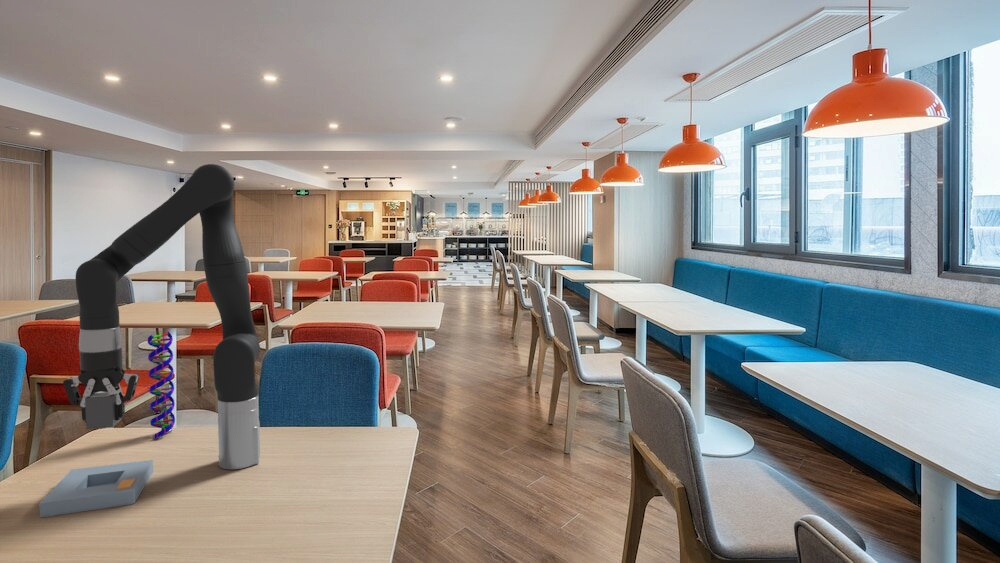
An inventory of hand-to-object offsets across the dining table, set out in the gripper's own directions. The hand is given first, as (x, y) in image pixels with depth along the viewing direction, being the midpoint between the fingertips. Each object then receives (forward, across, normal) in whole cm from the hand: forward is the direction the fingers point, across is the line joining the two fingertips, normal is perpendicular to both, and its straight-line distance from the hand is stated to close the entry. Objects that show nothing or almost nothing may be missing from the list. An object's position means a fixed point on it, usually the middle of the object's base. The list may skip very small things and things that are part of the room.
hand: (103, 420), depth 115 cm
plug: (+1, 0, 0) cm, 1 cm away
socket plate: (+15, 0, +4) cm, 16 cm away
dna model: (+16, -4, -30) cm, 34 cm away
